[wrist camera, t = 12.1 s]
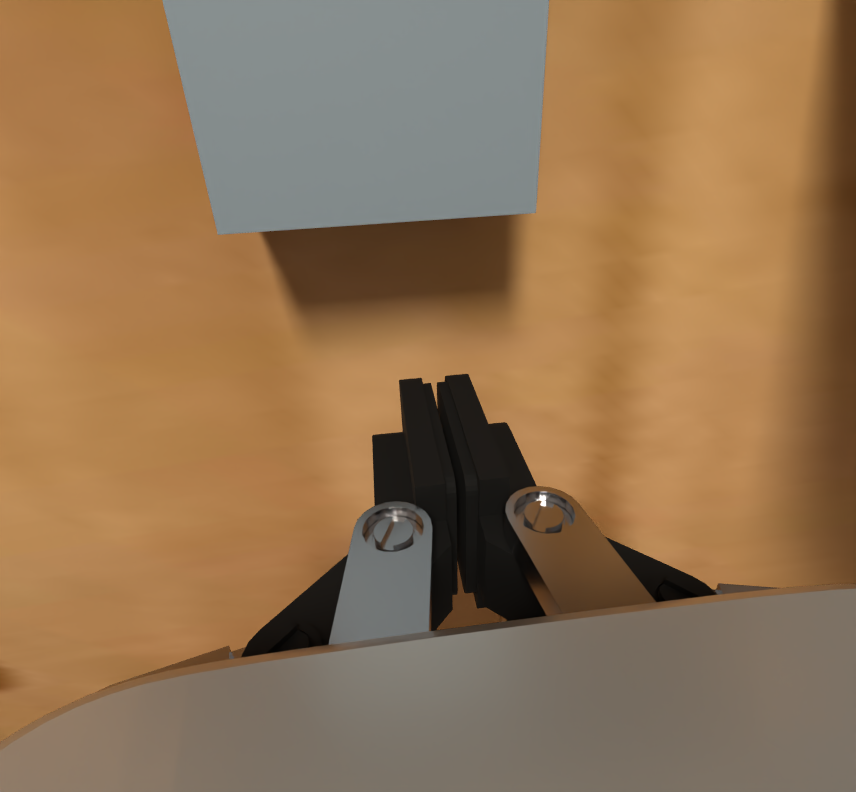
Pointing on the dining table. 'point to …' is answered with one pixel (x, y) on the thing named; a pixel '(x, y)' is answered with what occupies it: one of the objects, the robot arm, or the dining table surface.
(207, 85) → the pale blue carton
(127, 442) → the dining table surface
